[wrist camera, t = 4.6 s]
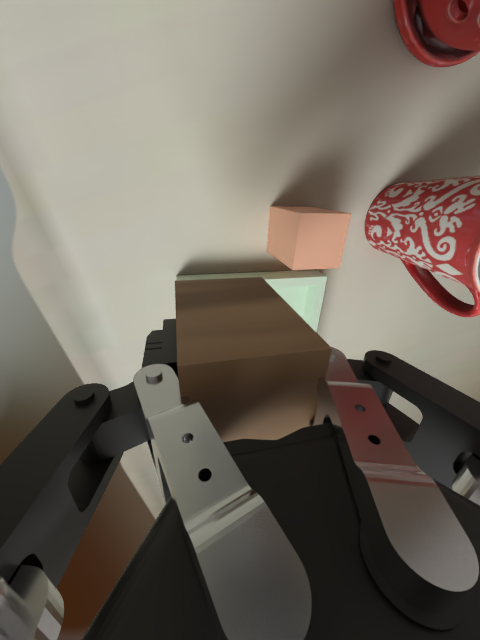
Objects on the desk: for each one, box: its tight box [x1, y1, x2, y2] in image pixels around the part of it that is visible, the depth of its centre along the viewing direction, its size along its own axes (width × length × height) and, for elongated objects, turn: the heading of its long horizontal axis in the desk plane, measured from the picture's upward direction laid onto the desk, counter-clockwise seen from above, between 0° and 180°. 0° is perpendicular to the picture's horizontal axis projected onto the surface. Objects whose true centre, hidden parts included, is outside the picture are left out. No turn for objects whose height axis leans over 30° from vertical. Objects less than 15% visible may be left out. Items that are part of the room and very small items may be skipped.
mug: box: [365, 176, 480, 317], centre depth 24 cm, size 13×9×14 cm
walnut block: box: [175, 277, 332, 442], centre depth 11 cm, size 4×4×7 cm
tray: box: [177, 269, 327, 332], centre depth 31 cm, size 16×16×3 cm
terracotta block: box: [267, 206, 351, 270], centre depth 24 cm, size 4×4×7 cm
